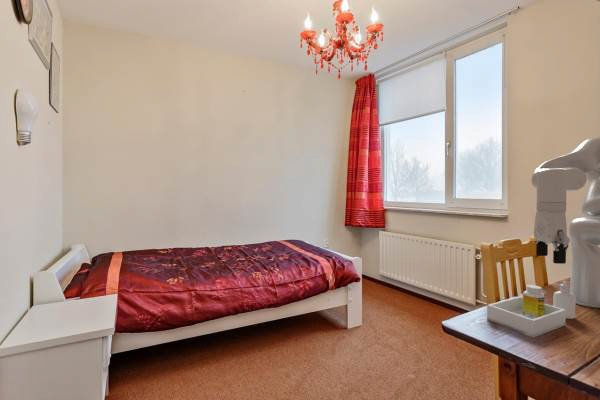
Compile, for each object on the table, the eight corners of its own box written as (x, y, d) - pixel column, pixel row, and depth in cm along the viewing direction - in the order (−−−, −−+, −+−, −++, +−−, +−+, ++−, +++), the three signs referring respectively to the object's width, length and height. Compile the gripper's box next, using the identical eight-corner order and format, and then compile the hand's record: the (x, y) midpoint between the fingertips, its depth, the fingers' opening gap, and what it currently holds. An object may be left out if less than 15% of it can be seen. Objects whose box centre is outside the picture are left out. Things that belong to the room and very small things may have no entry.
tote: (518, 310, 111) (519, 296, 111) (565, 325, 99) (565, 309, 98) (487, 319, 103) (487, 304, 103) (533, 337, 91) (533, 320, 91)
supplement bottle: (539, 322, 99) (540, 290, 98) (519, 316, 104) (520, 285, 103) (546, 318, 102) (547, 287, 102) (526, 312, 107) (527, 282, 106)
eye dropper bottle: (554, 312, 109) (555, 277, 108) (576, 317, 105) (577, 281, 104) (551, 315, 106) (552, 280, 106) (573, 321, 102) (574, 284, 101)
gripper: (524, 205, 111) (524, 253, 113) (553, 210, 95) (552, 266, 96) (548, 204, 110) (547, 253, 111) (582, 209, 93) (581, 266, 94)
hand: (550, 259), depth 103 cm, fingers open, 9 cm apart
